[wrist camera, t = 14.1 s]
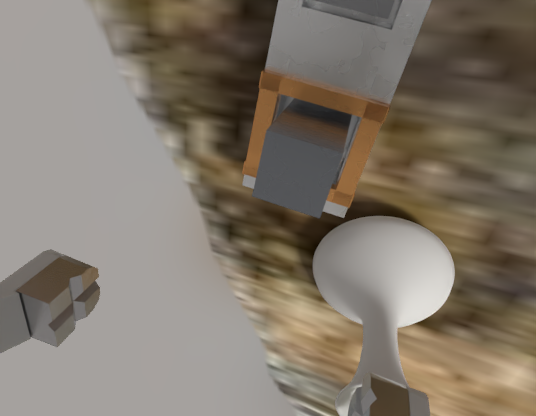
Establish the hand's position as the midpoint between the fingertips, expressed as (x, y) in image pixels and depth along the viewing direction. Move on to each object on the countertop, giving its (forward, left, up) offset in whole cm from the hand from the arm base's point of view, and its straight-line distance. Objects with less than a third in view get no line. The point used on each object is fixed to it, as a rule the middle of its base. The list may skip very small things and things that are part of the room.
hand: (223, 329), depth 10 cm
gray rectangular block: (0, 0, -18) cm, 18 cm away
